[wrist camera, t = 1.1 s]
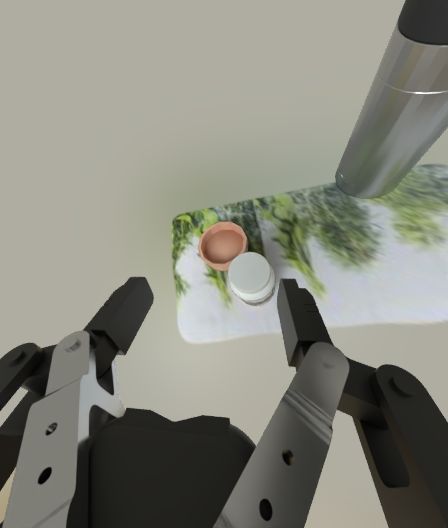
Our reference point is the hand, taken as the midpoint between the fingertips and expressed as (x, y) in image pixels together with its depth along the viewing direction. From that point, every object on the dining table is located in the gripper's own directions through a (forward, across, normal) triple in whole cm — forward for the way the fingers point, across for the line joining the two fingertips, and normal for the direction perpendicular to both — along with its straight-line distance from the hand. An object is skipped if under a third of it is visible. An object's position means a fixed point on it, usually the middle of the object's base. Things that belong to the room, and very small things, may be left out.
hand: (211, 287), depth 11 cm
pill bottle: (+13, -4, +13) cm, 19 cm away
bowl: (+20, +1, +10) cm, 22 cm away
